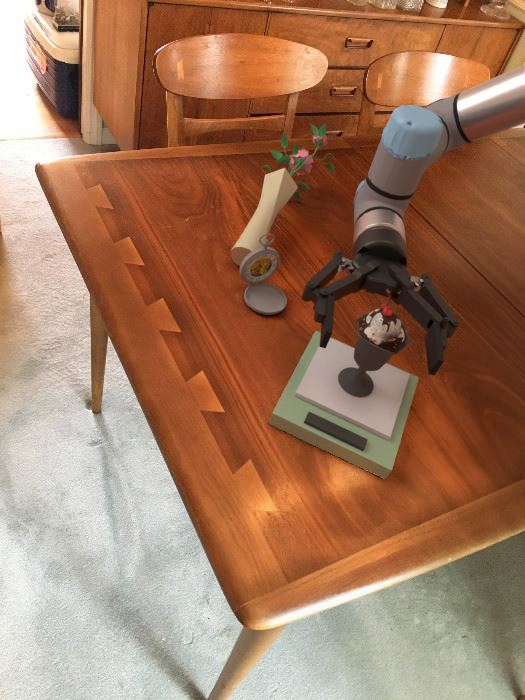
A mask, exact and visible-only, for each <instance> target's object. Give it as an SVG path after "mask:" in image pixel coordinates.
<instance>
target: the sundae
mask: <svg viewBox="0 0 525 700" xmlns="http://www.w3.org/2000/svg"><path fill="white" fill-rule="evenodd" d="M386 292H387V294H388V296H389V298H388V302H387V303H382V304H381V305H380V306H379V308H377V309H373V310H372V311H370V312H365V313H362V314H360V315H359V317H358V318H357V319H356V332H357V339H356V343H355V346H354V348H355V350H354V360H355V362H356V363H357V365H358V366H359V368H353V367H349V368H345V369H343V370H342V371H340V373H339V375H338V382H339V384H340V386H341V387H342V388H343V389H344V390H345V391H346V392H347V393H349V394H351V395H353V396H357V397H365V396H368V395H369V394H371V393H372V391H373V388H374V385H373V381H372V379H371V377H370V376H369V375H368V374H367V373H366V371H377V370H379V369H380V368H381V367H382V366H383V365H385V364H386V363H388V362H389V361H390V360H391V358H392V357H393V356H394V355H398V354H399V353H402V351H403V350H405V349H406V348H407V347H408V346H409V344H410V341H411V337H410V333H409V332H408V330H407V328H406V327H405V326H404V324H403V323H402V322H401V319H400V317H399V316H398V314H396V313H395V312H394V311H393V309H391V305H392V299H391V296H390V291H389V290H388V289H386Z"/></svg>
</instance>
